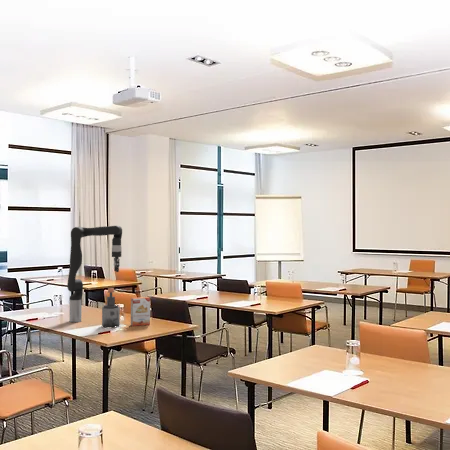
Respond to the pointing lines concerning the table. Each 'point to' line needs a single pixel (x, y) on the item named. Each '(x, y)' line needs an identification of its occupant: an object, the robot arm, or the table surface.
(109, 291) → the plunger
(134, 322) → the cracker box
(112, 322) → the detonator box
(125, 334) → the table surface
